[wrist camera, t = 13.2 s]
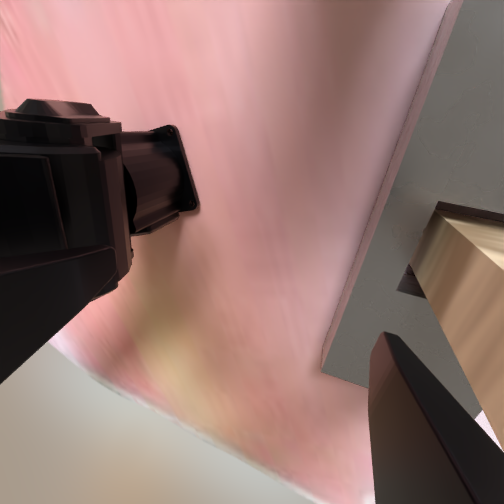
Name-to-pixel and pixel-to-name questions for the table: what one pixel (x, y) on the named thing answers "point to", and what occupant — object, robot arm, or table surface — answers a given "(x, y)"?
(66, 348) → the table surface
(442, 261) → the maple peg
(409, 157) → the socket plate
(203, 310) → the table surface
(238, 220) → the table surface
